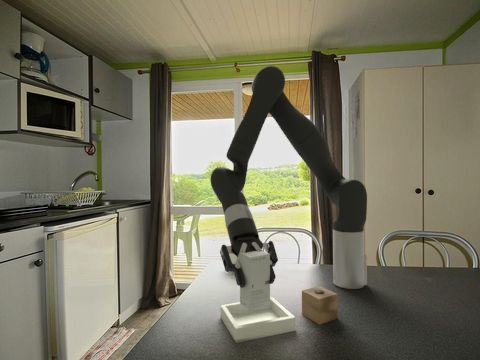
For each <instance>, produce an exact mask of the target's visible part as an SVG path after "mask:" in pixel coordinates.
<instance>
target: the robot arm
mask: <svg viewBox="0 0 480 360" xmlns="http://www.w3.org/2000/svg"><path fill="white" fill-rule="evenodd" d="M285 86H286V77H285V75H284V72H283V71H282V70H281V69H280V68H278V67H277V66H275V65H267V66H265V67H263V68H261V69H260V70H259V71H258V72H257V73H256V74H255V76H254V78H253V80H252V82H251V92H252V94H251V98H250V101H249V104H248V106H247V109H246V111H245V113H244V116H243V117H242V119H241V121H240V123H239V125H238V127H237V129H236V131H235V133H234V135H233V137H232V140H231V143H230V145H229V147H228V149H227V152H226V158H227V160H229V161H230V162H231V163H232V165H233V169H230V168H228V167H226V166H218V167H215V168H214V169H213V171H212V172H211V175H210V181H209V182H210V185H211V188H212V190H213V192H214V194H215V196H216V197H217V199H218V201H219V202H220V204H221V207H222V210H223V214H224V222H225V228H226V231H227V234H228V239H229V243H230V245H226V244H222V245H221V247H220V250H219V254H220V257H221V261H222V265H223V267H224V271H225V272H227V273H228V272H231V273H233V275H234V278H235V279H234V280H235V283H236V285H237V286H239V289H240V288H244V286H245V280H244V276H243V272H242V269H240V266H241V263H240V254H241V253H247V252H253V251H263V252H266V253H269V254H270V285H272V284H274V282H275V280H276V277H277V276H276V273H275V271H274V268H273V267H276V265H277V263H278V261H279V259H278V254H277V251H276V248H275V244H274V242H273V241H272V240H269V241H268V242H262V240H261V239H260V235H259V231H258V228H257V226H256V222H255V220H254V216H253V214H252V212H251V209H250V208H249V204H248V201H247V198H246V195H244V193H243V192H242V191H243V190H244V187H245V185H246V180H247V174H248V168H249V167H248V166H249V161H250V159H251V156H252V155H253V152H254V149H255V147H256V145H257V142H258V139H259V137H260V134H261V132H262V129H263V126H264V124H265V122H266V120H267V117H268V115H271V117H272V118H273V119H274V121H275V122H276V124H277V125H278V126H279V128H280V130H281V131H282V134H284V137H286V139H287V140H288V142H289V143H290V145H291V146H292V148H293V149H294V151H296V153H297V155H299V157H300V158H301V159H302V161H303V162H304V163H305V165H306V166H307V167H308V168H309V170H310V171H311V173H313V175H314V176H315V177H316V179H317V180H318V182H319V184H320V186H321V187H322V189H323V191H324V192H325V194H326V196H327V197H328V199H329V201H330V202H331V203H332V204H333V205H334V206H336V207H338V214H337V217H336V218H335V219H334V220H332V268H333V269H332V270H333V271H332V275H333V277H332V279H333V280H332V281H333V282H332V283H333V285H335V286H337V287H339V288H342V289H348V290H358V289H362V288H364V287H365V286H367V285H368V281H367V280H368V278H367V277H368V274H367V273H368V271H367V266H368V263H367V259H368V258H367V254H366V253H365V243H364V242H365V241H364V240H365V239H364V238H365V235H364V231H365V229H364V228H365V224H366V222H367V215H368V214H367V213H368V211H367V209H368V193H367V192H368V191H367V189H366V186H365V185H364V184H363V183H362V181H360V180H357V179H349V178H346V177H344V175H342V174H341V172H340V171H339V169H338V168H337V167H336V165H335V163H334V161H333V159H332V155H331V152H330V149H329V148H330V147H329V145H328V142H327V141H326V139H325V137H324V136H323V134H322V133H321V131H320V130H319V129H318V127H317V125H315V123H313V122H312V121H311V119H310V118H308V117H307V116H306V115H304V113H302V112H300V111H299V109H297V108H296V106H294V105H293V104H292V102H291V101H290V100H289V98H288V97H287V95H286V93H285V92H284V89H285ZM263 249H264V250H263ZM230 251H231V252H232V253H234V254H235V255H236V256H237V259H236V262H235V264H232V262H231V259H230V256H229V254H230Z"/></svg>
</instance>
